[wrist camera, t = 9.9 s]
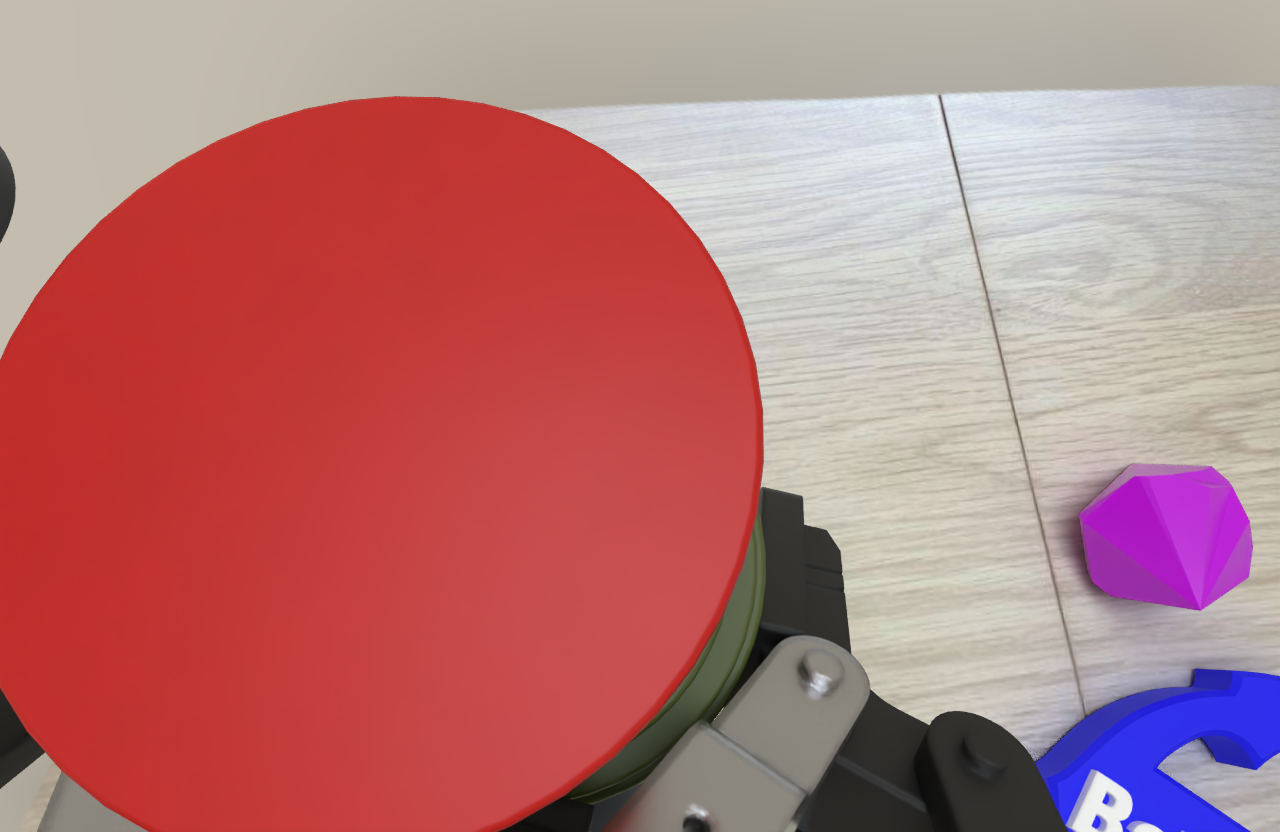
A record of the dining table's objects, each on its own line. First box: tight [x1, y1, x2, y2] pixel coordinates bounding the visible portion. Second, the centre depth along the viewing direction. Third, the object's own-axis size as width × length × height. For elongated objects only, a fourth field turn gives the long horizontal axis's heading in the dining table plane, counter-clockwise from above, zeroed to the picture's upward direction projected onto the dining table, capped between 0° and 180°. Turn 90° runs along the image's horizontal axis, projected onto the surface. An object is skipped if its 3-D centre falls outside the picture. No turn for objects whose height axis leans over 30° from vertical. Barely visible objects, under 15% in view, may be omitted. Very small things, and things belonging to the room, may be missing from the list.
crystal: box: [1079, 463, 1253, 611], centre depth 29 cm, size 5×5×5 cm
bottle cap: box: [0, 96, 764, 832], centre depth 6 cm, size 4×4×4 cm
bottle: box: [563, 511, 766, 804], centre depth 13 cm, size 6×6×18 cm
